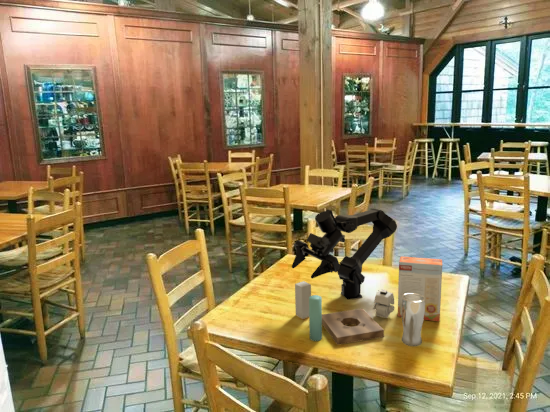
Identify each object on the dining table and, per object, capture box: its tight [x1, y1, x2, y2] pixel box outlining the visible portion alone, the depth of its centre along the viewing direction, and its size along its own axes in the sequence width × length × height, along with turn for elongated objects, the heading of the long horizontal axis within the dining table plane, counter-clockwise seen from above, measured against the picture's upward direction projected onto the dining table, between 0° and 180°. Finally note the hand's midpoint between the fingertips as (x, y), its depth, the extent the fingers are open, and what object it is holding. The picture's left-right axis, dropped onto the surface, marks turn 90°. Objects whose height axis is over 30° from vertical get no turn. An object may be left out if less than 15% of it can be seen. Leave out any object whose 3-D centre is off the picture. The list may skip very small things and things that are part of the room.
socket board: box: [322, 308, 385, 346], centre depth 146 cm, size 16×16×2 cm
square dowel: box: [294, 280, 312, 320], centre depth 155 cm, size 4×4×12 cm
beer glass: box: [401, 293, 425, 347], centre depth 136 cm, size 7×7×15 cm
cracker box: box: [397, 256, 443, 322], centre depth 151 cm, size 14×6×21 cm, turn 70°
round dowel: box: [308, 294, 323, 342], centre depth 140 cm, size 4×4×14 cm
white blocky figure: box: [373, 289, 395, 319], centre depth 152 cm, size 6×7×10 cm
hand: (301, 272), depth 152 cm, fingers open, 9 cm apart
